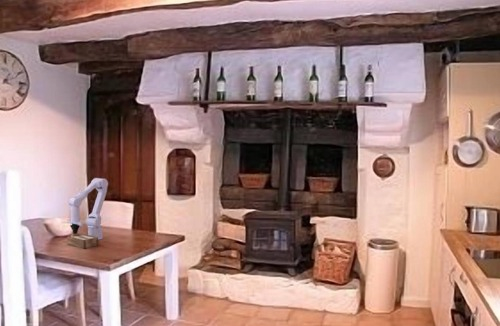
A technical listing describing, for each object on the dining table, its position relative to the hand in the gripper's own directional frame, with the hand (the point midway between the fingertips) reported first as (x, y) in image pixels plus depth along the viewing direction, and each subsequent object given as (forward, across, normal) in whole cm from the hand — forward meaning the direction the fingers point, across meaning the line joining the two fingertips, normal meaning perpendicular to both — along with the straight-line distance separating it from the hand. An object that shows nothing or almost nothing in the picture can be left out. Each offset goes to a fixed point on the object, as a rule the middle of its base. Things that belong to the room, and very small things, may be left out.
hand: (75, 234), depth 325 cm
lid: (+1, +8, 0) cm, 8 cm away
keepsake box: (+6, +8, 0) cm, 10 cm away
